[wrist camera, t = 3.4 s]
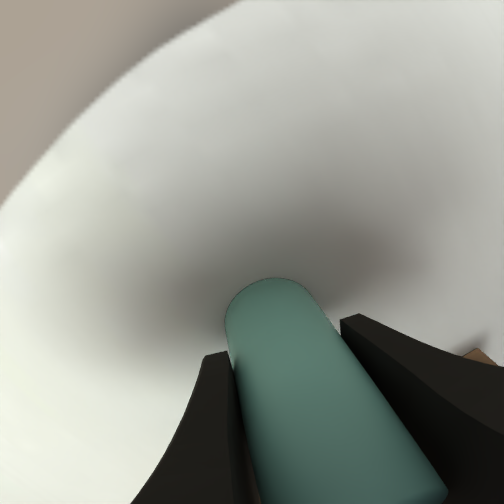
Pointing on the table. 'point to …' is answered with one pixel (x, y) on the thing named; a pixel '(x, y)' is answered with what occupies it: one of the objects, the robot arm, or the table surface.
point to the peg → (316, 409)
